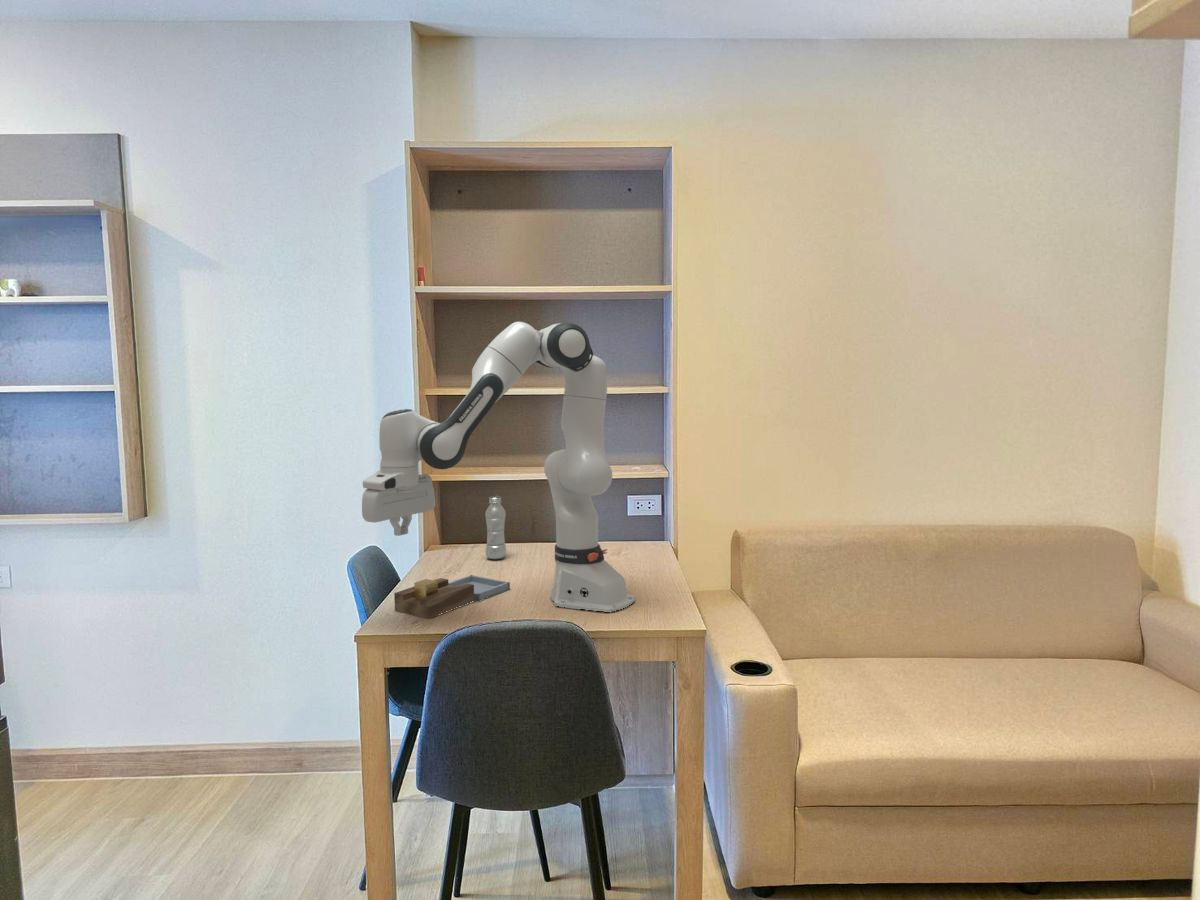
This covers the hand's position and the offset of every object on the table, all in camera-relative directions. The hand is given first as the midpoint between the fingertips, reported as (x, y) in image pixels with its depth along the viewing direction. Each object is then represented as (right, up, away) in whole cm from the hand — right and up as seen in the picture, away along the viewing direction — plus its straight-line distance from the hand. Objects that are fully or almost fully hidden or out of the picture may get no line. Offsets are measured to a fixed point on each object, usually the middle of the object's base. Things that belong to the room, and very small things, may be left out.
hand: (401, 534), depth 178 cm
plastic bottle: (+15, -15, +58) cm, 62 cm away
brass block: (+4, -17, +8) cm, 19 cm away
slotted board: (+6, -20, +11) cm, 23 cm away
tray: (+14, -18, +23) cm, 33 cm away
